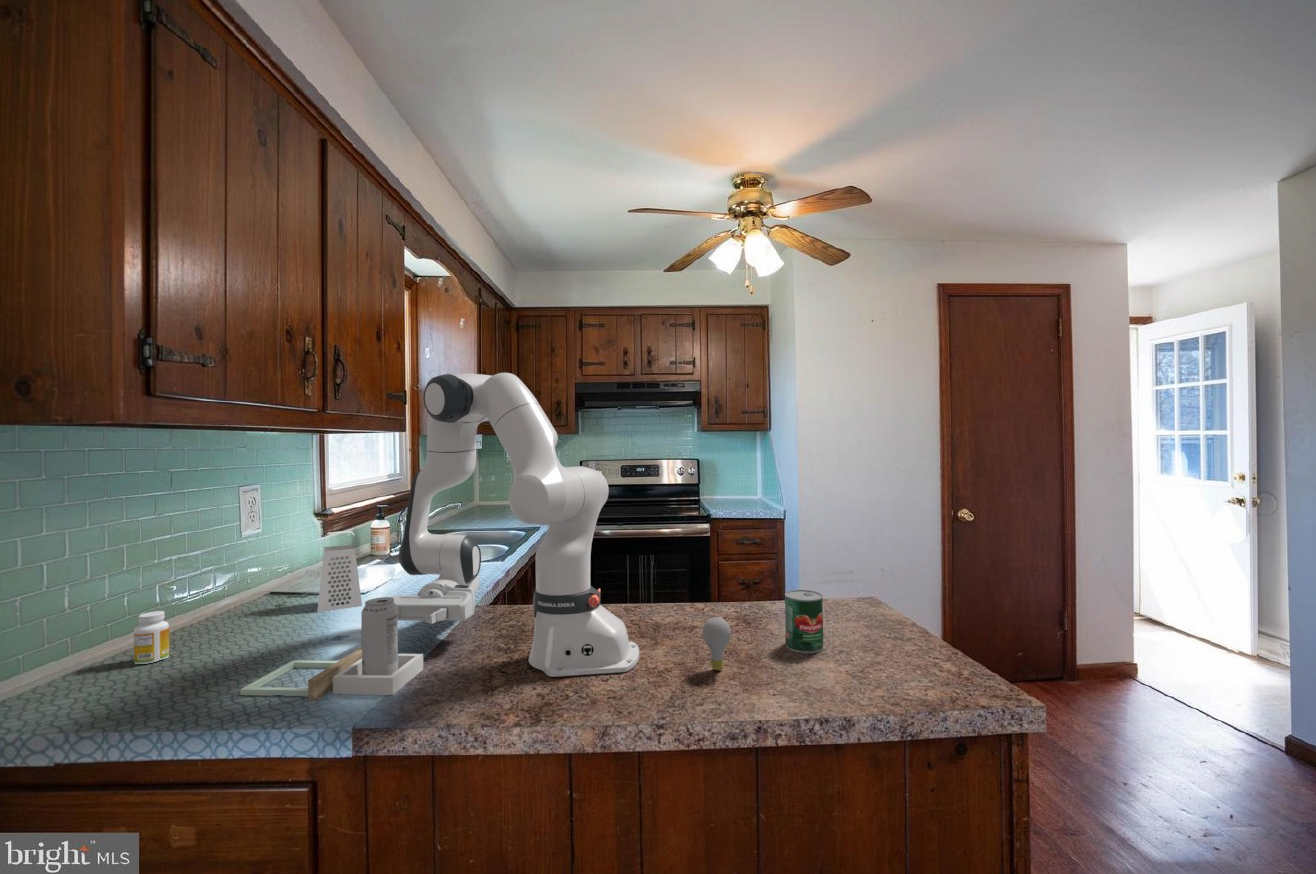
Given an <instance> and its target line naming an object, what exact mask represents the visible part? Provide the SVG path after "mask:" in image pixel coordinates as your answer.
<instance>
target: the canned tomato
mask: <svg viewBox="0 0 1316 874" xmlns="http://www.w3.org/2000/svg"><path fill="white" fill-rule="evenodd" d="M823 597H824V596H823V594H822V593H820V592H817V591H814V590H811V589H810V590H809V589H792V590H789V591H788V590H787V591H786V592H785V593H784V618H785V620H784V621H785V623H784V626H785V627H784V628H785V631H784V633H785V647H786V648H787V649H788V650H790V651H792V652H795V653H801V654H816V653H819V652H821V651H823V650H824V648H825V647H824V601H823V599H824V598H823Z"/></svg>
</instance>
